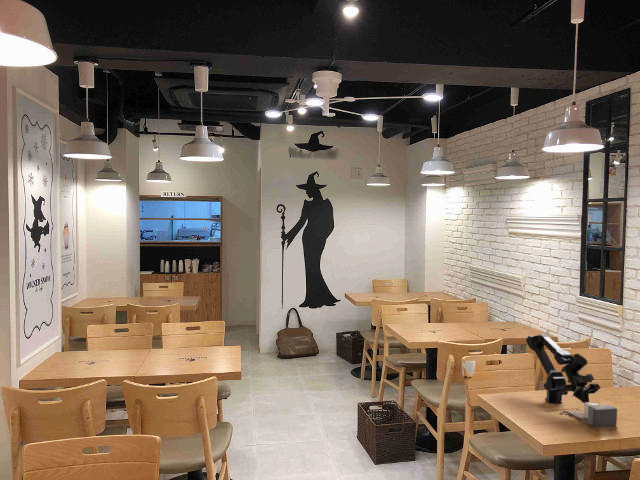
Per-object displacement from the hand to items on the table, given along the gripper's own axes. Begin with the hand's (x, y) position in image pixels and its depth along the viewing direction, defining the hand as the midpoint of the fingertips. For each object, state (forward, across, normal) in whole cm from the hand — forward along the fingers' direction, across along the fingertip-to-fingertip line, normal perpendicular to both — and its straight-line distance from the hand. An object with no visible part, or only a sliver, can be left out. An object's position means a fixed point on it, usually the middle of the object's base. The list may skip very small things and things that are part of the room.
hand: (588, 405), depth 243 cm
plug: (+6, 0, +1) cm, 6 cm away
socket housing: (+10, 0, -2) cm, 11 cm away
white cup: (-47, -24, +56) cm, 77 cm away
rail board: (+6, 0, +3) cm, 7 cm away
